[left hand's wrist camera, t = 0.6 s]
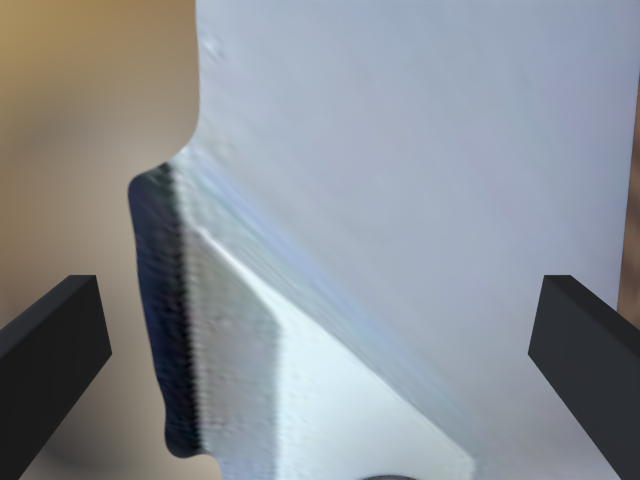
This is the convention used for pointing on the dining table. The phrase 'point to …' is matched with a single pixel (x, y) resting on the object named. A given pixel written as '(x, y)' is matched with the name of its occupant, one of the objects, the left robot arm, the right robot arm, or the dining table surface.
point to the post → (632, 238)
